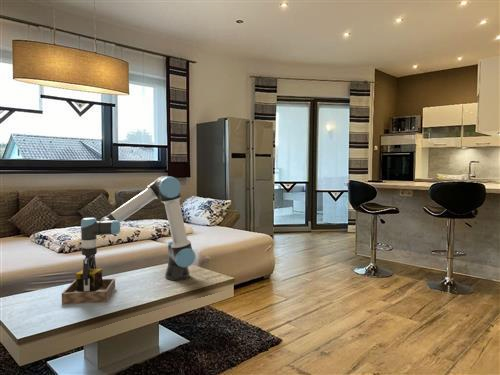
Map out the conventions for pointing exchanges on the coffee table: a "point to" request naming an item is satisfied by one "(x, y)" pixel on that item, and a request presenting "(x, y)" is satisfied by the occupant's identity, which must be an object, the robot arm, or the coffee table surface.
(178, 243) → the robot arm
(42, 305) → the coffee table surface
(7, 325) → the coffee table surface
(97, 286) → the candle
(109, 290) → the crate
